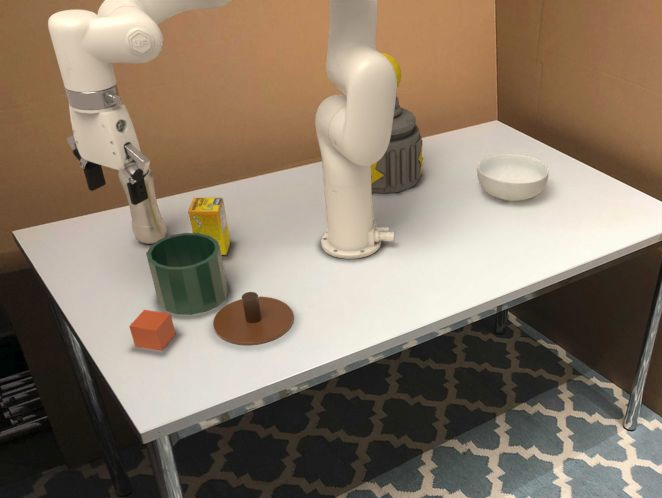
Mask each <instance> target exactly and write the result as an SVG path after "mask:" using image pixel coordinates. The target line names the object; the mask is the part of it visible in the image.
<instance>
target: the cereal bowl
mask: <svg viewBox="0 0 662 498" xmlns="http://www.w3.org/2000/svg"><path fill="white" fill-rule="evenodd" d="M476 170H477V172H476V173H477V180H478V182H479V184H480V186H481V189H483V190H484V192H486V193H487V194H488V195H490V196H493V197H495V198H497V199H499V200H501V201H504V202H509V203H512V202H513V203H516V202H517V203H518V202H522V201H524V200H528V199H531V198H534V197H536V196H537V195H539V194H540V193H541V192H543V190H544V189H545V187H546V186H547V184H548V180H549V175H550V169H549V167H548V166H547V165H546V163H544V162H543V161H542V160H540V159H538V158H536V157H533V156H529V155H525V154H521V153H497V154H493V155H489V156H487V157H484V158H482V159H481V160H479V162H478V163H477V168H476Z"/></svg>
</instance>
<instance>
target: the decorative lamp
mask: <svg viewBox="0 0 662 498" xmlns="http://www.w3.org/2000/svg"><path fill="white" fill-rule="evenodd" d="M380 53H381V54H382V55H384V56H385V57H386V58H387V59H388V60H389V61H390V63H391V64H392V66H393V68H394V70H395V74H396V79H397V88H399V86H400V83H401V81H402V69H401V67H400V64H399V62H398V61H397V60H396V59H395V58H394V57H393V56H392V55H390V54H388V53H385V52H380ZM397 95H398V93H396V102H395V109H394V117H393V124H392V131H391V137H390V142H389V145H388V148H387V150H386V152H385V154H384V155H383V157H382V158H381V159H380V160H379V161H378V162H376V163H374V164H372V165H371V189H372V193H375V194H393V193H400V192H402V191H407V190H408V189H411V188H412V187H414V186H415V185H416V184H417V183H418V182H419V181H420V177H421V176H422V171H423V169H422V168H423V165H424V157H423V144H424V141H423V137H422V135H421V132H420V127H419V126H418V124H417V123H416V121H417V120H416V116H415V115H414V113H413V112H412V111H411V110H408V109H407V108H404V107H401V105H400V99H399V98H398V96H397Z"/></svg>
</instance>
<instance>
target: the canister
mask: <svg viewBox="0 0 662 498" xmlns="http://www.w3.org/2000/svg"><path fill="white" fill-rule="evenodd" d="M146 259H147V263H148V266H149V267H148V268H149V270H150V271H149V272H150V274H151V278H152V282H153V286H154V289H155V290H154V291H155V294H156V298H157V301H158V305H159V307H161V308H162V309H163V310H164V311H165V312H166V313H170V314H175V315H179V316H180V315H183V316H184V315H185V316H192V315H197V314H203V313H207V312H209V311H211V310H214V309H215V308H218V307H219V306H220V305H222V303H223V302H224V301H226V298H227V296H228V294H229V289H228V285H227V284H228V283H227V278H226V272H225V267H224V263H223V256H221V251H220V247H219V244H218V241H217V240H215V239H214V238H212V237H211V236H208V235H204V234H200V233H193V232H183V233H176V234H170V235H169V236H165V238H163V239H160V240H158V241H157V242H156V243H152V244H151V245H150V246H149V248H148V249H147V251H146Z"/></svg>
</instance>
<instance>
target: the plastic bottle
mask: <svg viewBox="0 0 662 498" xmlns="http://www.w3.org/2000/svg"><path fill="white" fill-rule="evenodd" d="M127 163H129V161H128V160H126V162H125V163H124V165H125V164H127ZM128 169H129V171H130V172H131V173H132V175H133V173H134V172H135V170H134V169H133V168H132V167H130V168H128ZM148 170H149V172H148V174H147V175H146V178H144V181H145V185H146V190H147V194H148V199H146V200H144V201H143V202H141V203H139V204H137V205H133V204H132V203H131V199H130V195H129V191H128V187H127V183H128V182H129V181H128V179H127V178H126V177H125V175H124V174H123V173H122V171H121V170H118V174H117V175H118V176H117V177H118V181H119V184H120V186H121V188H122V190H123V192H124V194H125V197H126V200H127V202H128V207H129V211H130V216H131V229H132V233H133V235H134V237H135V238H136V240H138V242H140V243H141V244H147V245H149V244H154V243H156V242H157V241H158V240H160V239H163V238H166V237H167V224H166V223H165V219H164V218H163V216H162V214H161V211H160V208H159V204H158V201H157V196H156V195H157V194H156V191H155V190H156V189H155V179H154V178H155V177H154V173H153V171H152V168H150V167H149V169H148Z"/></svg>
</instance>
